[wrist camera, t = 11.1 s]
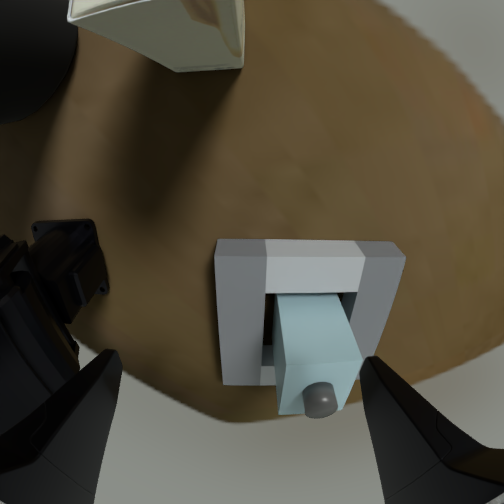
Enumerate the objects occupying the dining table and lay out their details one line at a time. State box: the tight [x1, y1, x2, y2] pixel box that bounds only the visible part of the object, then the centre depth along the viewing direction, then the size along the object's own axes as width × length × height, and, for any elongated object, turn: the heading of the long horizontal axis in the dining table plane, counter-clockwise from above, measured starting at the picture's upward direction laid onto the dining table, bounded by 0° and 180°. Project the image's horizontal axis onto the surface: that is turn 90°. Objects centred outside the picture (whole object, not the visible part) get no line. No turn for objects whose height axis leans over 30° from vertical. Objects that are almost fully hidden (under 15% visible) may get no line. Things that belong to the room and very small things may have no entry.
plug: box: [272, 292, 363, 418], centre depth 19 cm, size 4×6×10 cm
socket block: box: [214, 239, 406, 385], centre depth 22 cm, size 13×13×2 cm
